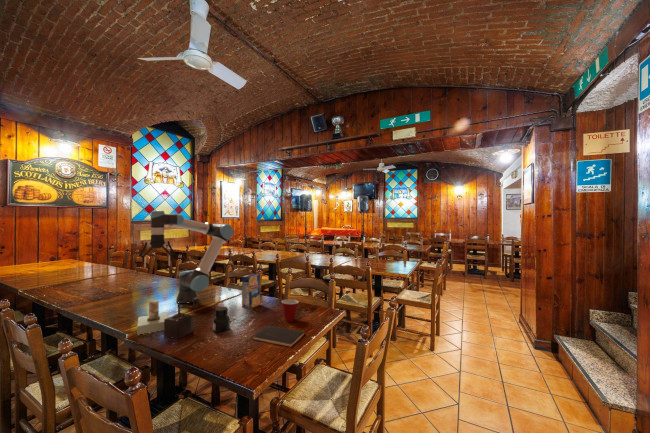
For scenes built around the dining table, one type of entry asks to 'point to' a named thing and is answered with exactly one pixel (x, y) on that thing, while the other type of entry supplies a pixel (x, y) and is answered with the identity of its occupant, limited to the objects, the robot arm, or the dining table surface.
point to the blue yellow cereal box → (250, 290)
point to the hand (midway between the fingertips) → (157, 266)
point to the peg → (153, 310)
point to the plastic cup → (289, 309)
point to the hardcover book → (279, 335)
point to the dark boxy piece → (180, 322)
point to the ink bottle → (221, 320)
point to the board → (151, 324)
